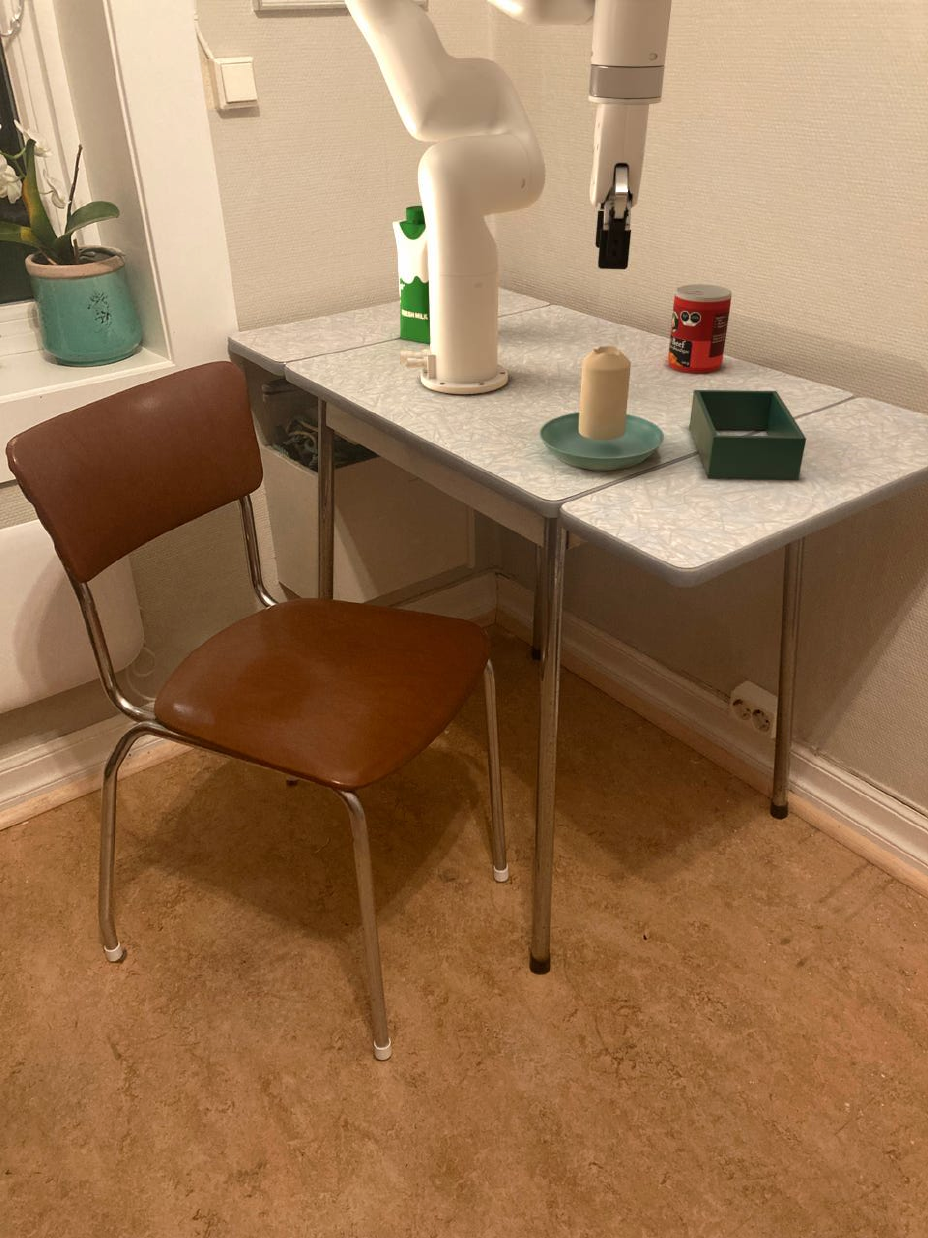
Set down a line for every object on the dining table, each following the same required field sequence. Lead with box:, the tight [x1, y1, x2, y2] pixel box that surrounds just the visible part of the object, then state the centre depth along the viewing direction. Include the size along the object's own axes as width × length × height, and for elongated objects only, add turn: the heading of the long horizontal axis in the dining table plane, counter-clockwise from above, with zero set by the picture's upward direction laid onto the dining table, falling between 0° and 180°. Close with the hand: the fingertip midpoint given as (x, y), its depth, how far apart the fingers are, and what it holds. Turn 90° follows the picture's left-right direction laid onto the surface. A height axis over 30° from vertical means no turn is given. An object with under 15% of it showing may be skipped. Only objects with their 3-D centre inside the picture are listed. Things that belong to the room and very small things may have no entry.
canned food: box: [667, 283, 732, 374], centre depth 141 cm, size 8×8×11 cm
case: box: [688, 389, 807, 481], centre depth 115 cm, size 10×16×5 cm, turn 176°
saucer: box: [538, 411, 665, 472], centre depth 115 cm, size 15×15×3 cm
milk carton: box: [392, 205, 431, 345], centre depth 153 cm, size 9×9×20 cm
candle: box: [578, 345, 632, 440], centre depth 112 cm, size 6×6×10 cm
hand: (610, 257), depth 109 cm, fingers open, 9 cm apart
